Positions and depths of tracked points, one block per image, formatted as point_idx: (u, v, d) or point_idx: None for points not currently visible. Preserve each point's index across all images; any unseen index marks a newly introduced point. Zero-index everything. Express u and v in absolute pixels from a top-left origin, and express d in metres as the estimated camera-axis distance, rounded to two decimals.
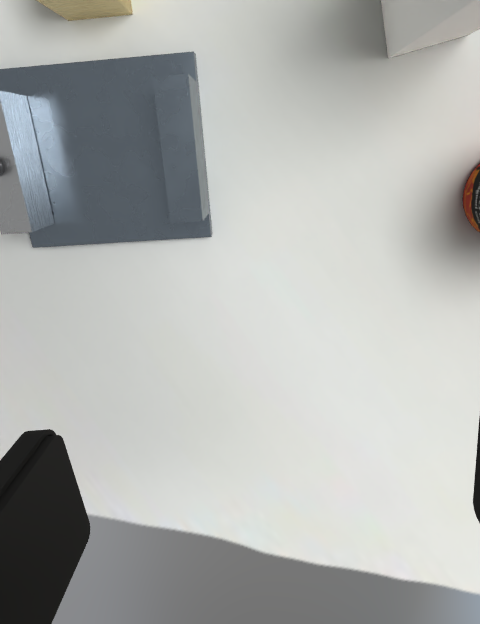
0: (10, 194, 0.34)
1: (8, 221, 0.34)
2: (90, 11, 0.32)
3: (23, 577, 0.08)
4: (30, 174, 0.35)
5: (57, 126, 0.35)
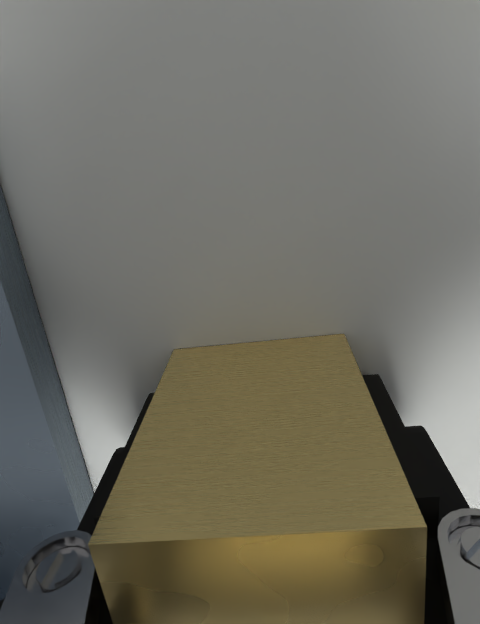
0: None
1: None
2: None
3: None
4: None
5: None
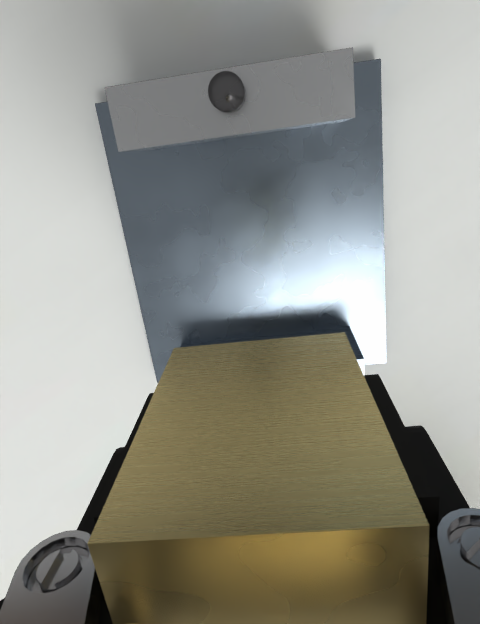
0: (180, 117, 0.18)
1: (130, 105, 0.18)
2: None
3: None
4: (219, 138, 0.20)
5: (295, 169, 0.23)
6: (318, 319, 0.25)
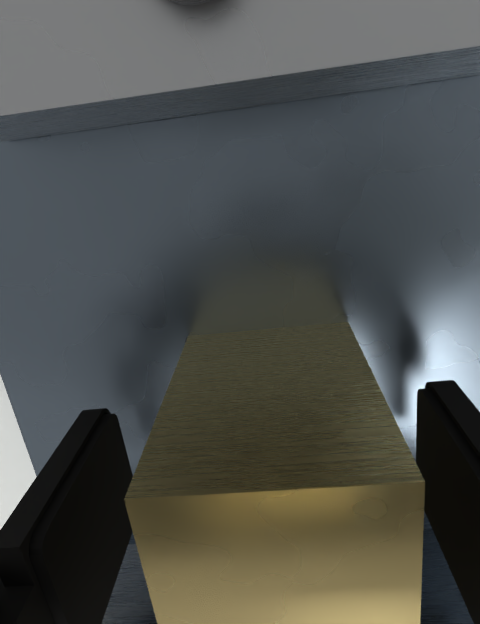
0: (24, 21, 0.05)
1: None
2: None
3: (92, 542, 0.08)
4: (173, 106, 0.07)
5: (361, 189, 0.10)
6: None
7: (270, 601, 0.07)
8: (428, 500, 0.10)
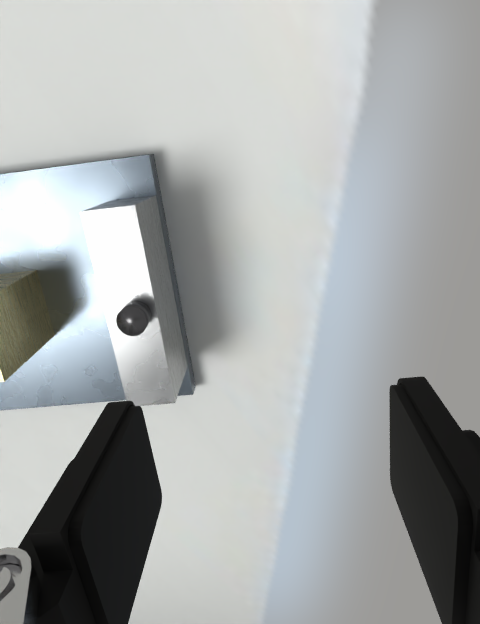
0: (115, 273, 0.20)
1: (121, 227, 0.19)
2: None
3: (123, 530, 0.09)
4: None
5: (107, 336, 0.26)
6: None
7: None
8: (400, 493, 0.10)
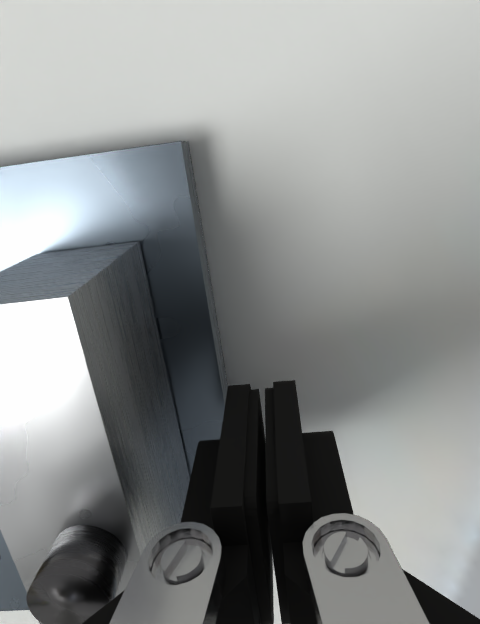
0: (26, 465, 0.08)
1: (33, 357, 0.07)
2: None
3: (265, 510, 0.09)
4: None
5: None
6: None
7: None
8: None
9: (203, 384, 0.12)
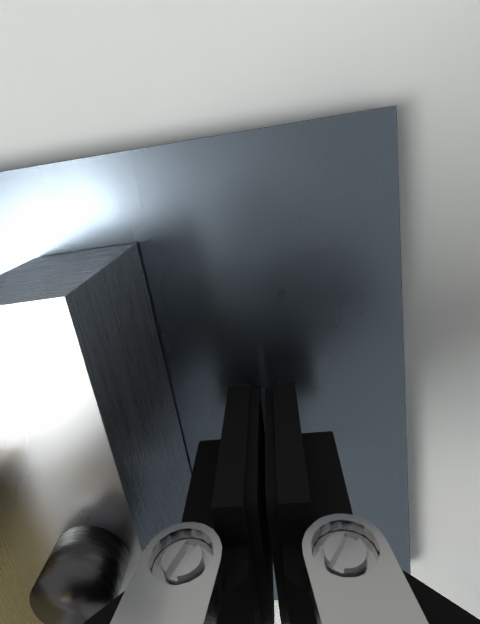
0: (27, 466, 0.08)
1: (31, 358, 0.07)
2: None
3: (265, 510, 0.09)
4: None
5: None
6: None
7: None
8: None
9: (385, 364, 0.11)
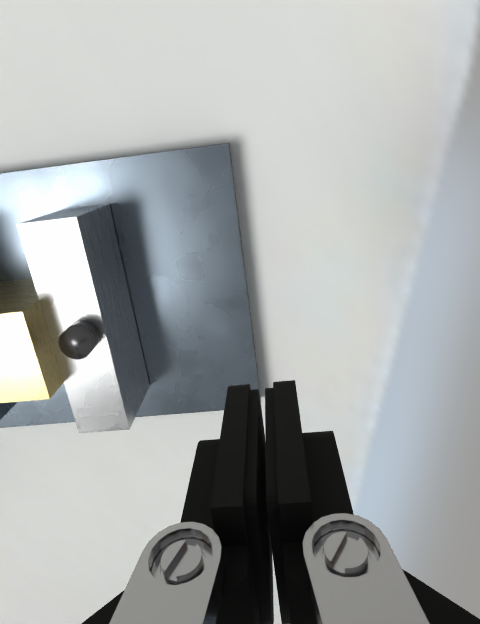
0: (58, 290, 0.19)
1: (62, 242, 0.18)
2: (15, 289, 0.21)
3: (265, 510, 0.09)
4: None
5: (170, 344, 0.24)
6: None
7: None
8: None
9: (234, 270, 0.22)
